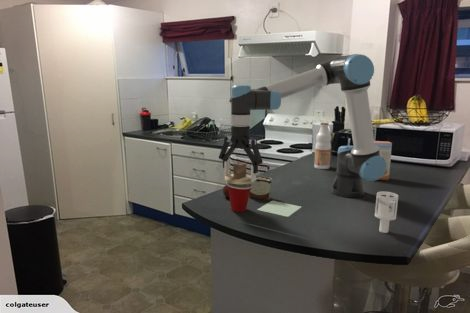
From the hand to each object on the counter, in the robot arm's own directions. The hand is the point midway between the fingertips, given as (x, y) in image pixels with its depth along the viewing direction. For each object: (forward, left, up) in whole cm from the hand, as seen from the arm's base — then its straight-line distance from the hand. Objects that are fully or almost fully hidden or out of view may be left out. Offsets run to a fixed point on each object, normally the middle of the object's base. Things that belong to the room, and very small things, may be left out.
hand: (239, 178), depth 147 cm
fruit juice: (-2, -94, -14) cm, 95 cm away
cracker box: (-35, -86, -14) cm, 94 cm away
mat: (-13, -11, -14) cm, 22 cm away
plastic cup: (0, 0, -14) cm, 14 cm away
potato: (+12, -13, -14) cm, 23 cm away
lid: (0, 0, -1) cm, 1 cm away
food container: (+1, -20, -14) cm, 24 cm away
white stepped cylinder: (-54, -12, -14) cm, 57 cm away
